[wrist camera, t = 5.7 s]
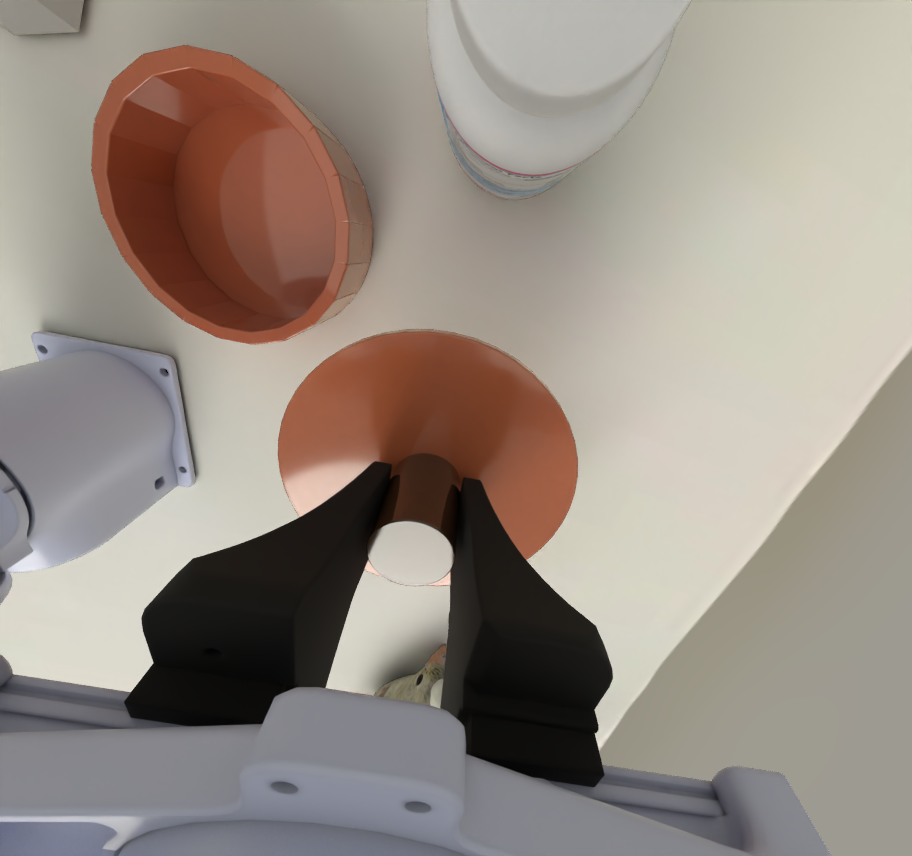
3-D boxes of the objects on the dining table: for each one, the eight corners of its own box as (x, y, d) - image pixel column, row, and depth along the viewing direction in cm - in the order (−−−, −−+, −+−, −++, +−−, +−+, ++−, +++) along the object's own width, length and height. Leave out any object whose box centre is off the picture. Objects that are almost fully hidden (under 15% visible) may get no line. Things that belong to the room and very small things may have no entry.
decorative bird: (471, 653, 33) (470, 757, 26) (384, 723, 39) (365, 822, 33) (422, 629, 32) (408, 732, 25) (340, 706, 38) (311, 804, 31)
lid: (527, 584, 17) (543, 692, 13) (293, 544, 17) (233, 642, 13) (615, 359, 12) (688, 418, 8) (286, 294, 12) (182, 320, 8)
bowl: (365, 343, 21) (343, 362, 17) (185, 307, 20) (124, 320, 17) (382, 118, 16) (355, 82, 13) (148, 66, 16) (55, 15, 12)
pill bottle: (505, -17, 14) (583, -687, 4) (617, 99, 15) (884, -179, 5) (421, 142, 16) (334, -25, 6) (524, 231, 18) (588, 210, 8)
